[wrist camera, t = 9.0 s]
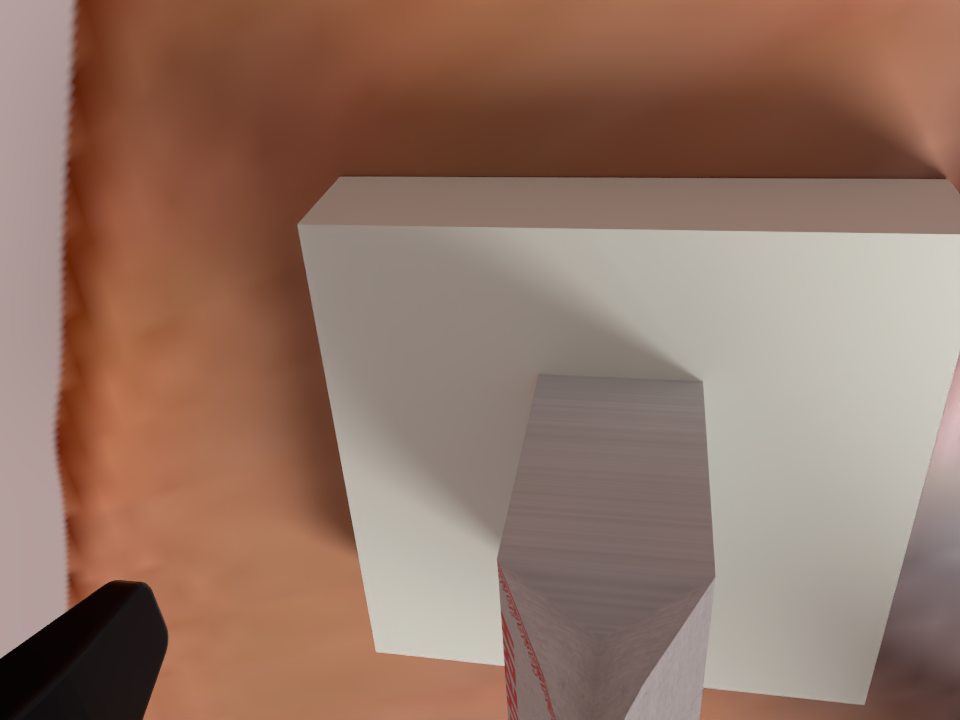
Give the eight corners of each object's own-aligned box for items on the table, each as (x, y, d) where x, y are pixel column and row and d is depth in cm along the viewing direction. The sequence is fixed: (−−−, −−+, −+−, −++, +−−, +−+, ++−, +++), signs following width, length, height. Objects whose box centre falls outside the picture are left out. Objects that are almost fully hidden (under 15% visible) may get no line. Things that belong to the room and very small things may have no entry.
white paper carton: (702, 381, 19) (730, 813, 11) (684, 595, 23) (694, 1043, 15) (538, 373, 20) (448, 774, 12) (545, 582, 24) (479, 1003, 15)
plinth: (845, 620, 26) (864, 705, 24) (401, 579, 29) (376, 651, 26) (948, 179, 19) (990, 234, 16) (339, 176, 22) (296, 224, 19)
